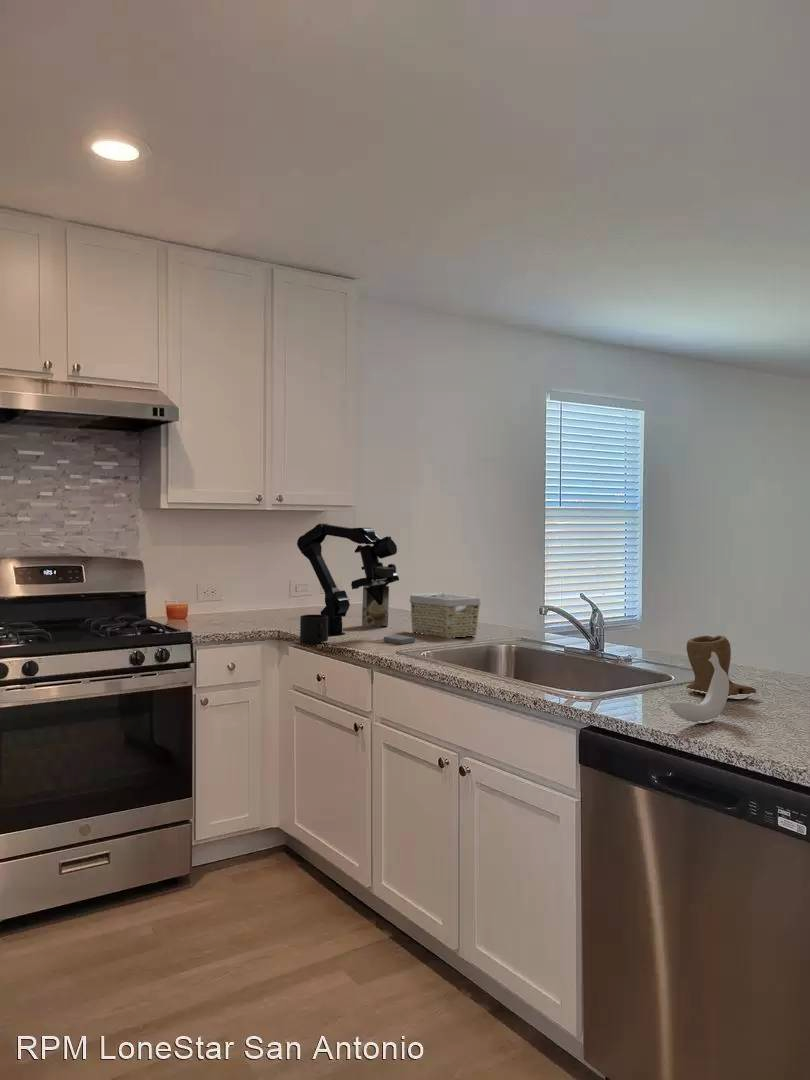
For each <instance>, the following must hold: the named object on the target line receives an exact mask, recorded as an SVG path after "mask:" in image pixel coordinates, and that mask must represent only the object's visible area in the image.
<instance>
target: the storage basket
mask: <svg viewBox="0 0 810 1080" xmlns="http://www.w3.org/2000/svg"><path fill="white" fill-rule="evenodd" d="M409 603H410V616H411V617H410V618H411V630H412V633H414V632H417V633H423V634H422V635H424V634H428V635H427V636H430V635H433V636H432V637H437V636H439V637H438V638H445V639H452V637H465V638H467V637H466V636H474V635H475V636H477V630H478V629H477V628H478V620H479V611H480V606H481V598H480V597H479V596H471V595H470V596H469V595H462V594H454V593H448V592H444V591H441V592H426V593H412V594H411V595H410V597H409ZM417 633H416V634H417ZM475 636H474V637H475Z"/></svg>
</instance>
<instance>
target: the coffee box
mask: <svg viewBox="0 0 810 1080" xmlns="http://www.w3.org/2000/svg"><path fill="white" fill-rule="evenodd" d="M364 588H367V587H366V586H362V608H361V609H362V613H361V614H362V615H361V626H362V625H363V626H362V627H364V626H365V628H382V627H381V626H388V627H389V603H390V602H389V600H390V599H389V598H390V593H389V592H390V586H389V585H386V587H385V589H384V594H383V604H382V605H378V603H377V602H376V601H375V599H374V598H373V597H372V596H371V595H370V594H369V592H368V591H367V590H364Z"/></svg>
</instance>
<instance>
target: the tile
mask: <svg viewBox="0 0 810 1080" xmlns="http://www.w3.org/2000/svg"><path fill="white" fill-rule="evenodd" d="M383 639H384V642H389V643H395V644H405V645H408V644H407V643H412V644H415V643H414V642H415V640H416V637H414V636H413V637H412V636H408V635H407V636H406V635H400V634H396V635H389V636H383Z"/></svg>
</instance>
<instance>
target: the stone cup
mask: <svg viewBox="0 0 810 1080" xmlns="http://www.w3.org/2000/svg"><path fill="white" fill-rule="evenodd" d="M711 652H715V653H716V655H717V657H718V659H719V664H720V666H721V668H722V669H723V670H724V671H725V672H726V674H727V676H728V679H729V669H730V664H731V660H732V658H731V655H732V649H731V643H730V641H729V639H728V638H727V637H725V636H724V635H716V636H710V635H701V636H695V637H693V638H689V639H688V640H687V642H686V653H687V657H688V661H689V663H690V666H691V668H692V671H693V674H694V680H693V682H691V683H689V684H688V685H686V687H687V688H690V689H694V690H699V691H704V692H708V689H709V686H710V683H711V680H712V677H713V674H714V671H715V669H714V666H713V664H712V663H711V662H710V661H708V660H709V659H710V658H711ZM687 688H686V689H687ZM750 693H755V694H757V689H756V688H755V687H752V686H746V685H742V684H738V683H734V682H732V681H731V679H729V693H728V696H730V695H737V694H750Z"/></svg>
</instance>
